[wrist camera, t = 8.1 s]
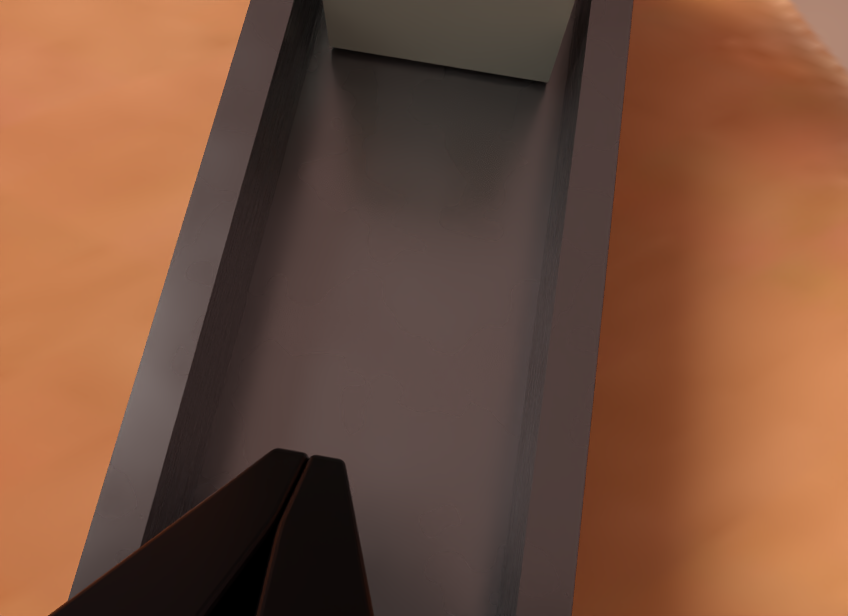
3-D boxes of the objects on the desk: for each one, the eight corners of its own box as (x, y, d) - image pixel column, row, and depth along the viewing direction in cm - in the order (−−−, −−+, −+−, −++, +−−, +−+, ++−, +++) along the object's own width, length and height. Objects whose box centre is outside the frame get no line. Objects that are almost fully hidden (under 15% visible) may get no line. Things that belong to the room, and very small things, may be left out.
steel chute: (524, 913, 14) (561, 1033, 11) (48, 819, 14) (-59, 909, 11) (624, -24, 21) (665, -126, 18) (305, -75, 22) (287, -185, 18)
